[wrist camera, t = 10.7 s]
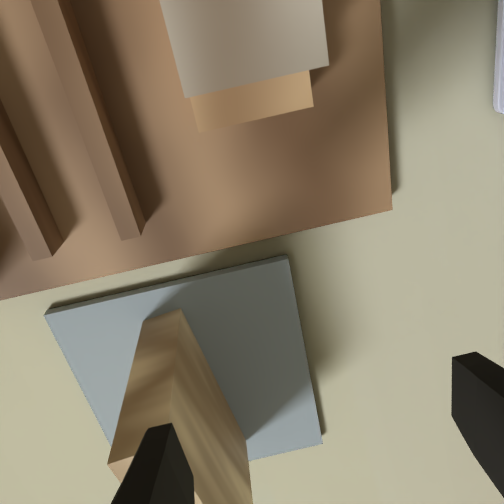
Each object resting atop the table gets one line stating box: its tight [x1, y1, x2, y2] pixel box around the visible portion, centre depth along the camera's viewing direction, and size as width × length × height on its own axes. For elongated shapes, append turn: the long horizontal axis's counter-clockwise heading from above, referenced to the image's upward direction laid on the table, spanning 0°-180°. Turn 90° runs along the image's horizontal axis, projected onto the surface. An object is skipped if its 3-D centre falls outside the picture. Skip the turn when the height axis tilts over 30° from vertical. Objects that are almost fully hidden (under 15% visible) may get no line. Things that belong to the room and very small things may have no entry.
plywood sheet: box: [107, 308, 253, 504], centre depth 19 cm, size 2×10×8 cm, turn 19°
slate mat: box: [44, 255, 323, 461], centre depth 22 cm, size 12×13×1 cm
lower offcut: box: [190, 70, 314, 133], centre depth 13 cm, size 4×7×2 cm, turn 11°
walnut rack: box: [0, 0, 392, 300], centre depth 13 cm, size 20×18×6 cm
